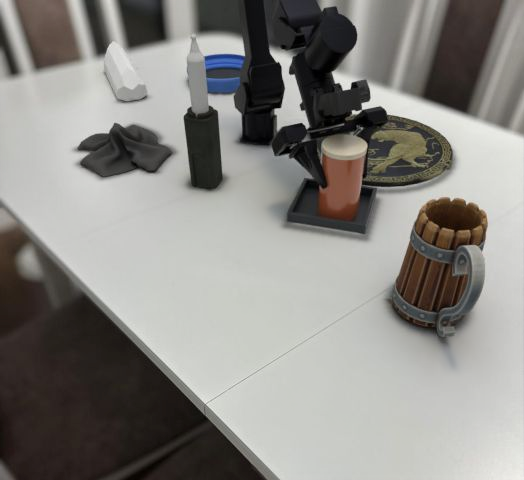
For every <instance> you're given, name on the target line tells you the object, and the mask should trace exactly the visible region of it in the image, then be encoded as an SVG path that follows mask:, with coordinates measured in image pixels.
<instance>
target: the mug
mask: <svg viewBox="0 0 524 480" xmlns="http://www.w3.org/2000/svg"><path fill="white" fill-rule="evenodd" d="M488 225H489V221H488V217H487V213H486V212H485V210H484V209H480V207H479V205H478V204H476V203H474V202H470V201H469V202H468V203H467V201H466V200H465V199H463V198H459V197H454V198H453V199H452V200H451V197H448V196H441V197H439V198H438V199H435V198H432V199H429V200H428V201H427V202H425V204H423V205H422V206H421V208H420V209H419V210H418V214H417V217H416V219H415V220H414V221H413V225H412V229H411V231H410V236H409V242H408V245H407V248H406V251H405V254H404V258H403V259H402V260H403V261H402V263H401V266H400V269H399V273H398V275H397V276H396V278H395V282H394V283H393V288H392V291H391V296H392V299H391V301H392V306H393V307H394V309H395V310H396V312H398V314H399V315H400V316H401V317H403V318H404V319H406V320H407V321H409V322H410V323H413V324H415V325H418V326H421V327H427V328H436V331H437V334H438V336H439V337H441V338H442V337H443V338H444V337H453V336H455V335H456V332H457V331H456V329H455V326H453V325H454V324H456V323H458V322H459V321H460V320H461V318H462V317H464V315H466V314H468V313H470V312H471V311H472V310H474V308H475V306H476V304H477V302H478V301H479V299H480V297H481V295H482V292H483V289H484V285H485V279H486V262H485V257H484V254H483V251H484V247H485V244H486V240H487V230H488V227H489V226H488ZM451 325H452V326H451Z"/></svg>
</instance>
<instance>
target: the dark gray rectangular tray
mask: <svg viewBox="0 0 524 480" xmlns="http://www.w3.org/2000/svg"><path fill="white" fill-rule="evenodd" d="M318 191H319V184H318V183H317V182H316V181H315V179H314V178H310V177H304V178H303V181H302V182H301V184H300V186H299V188H298V190H297V192H296V195H295V196H294V199H293V200H292V202H291V204H290V207H289V208H288V211H287V213H286V221H287V222H289V223H297V224H301V225H308V226H314V227H320V228H327V229H333V230H340V231H345V232H352V233H357V234H366V231H367V227H368V224H369V222H370V221H369V220H370V217H371V214H372V209H373V207H374V203H375V200H376V197H377V193H378V187H374V186H366V185H362V187H361V194H360V201H359V208H358V215H357V216H356V218H355V219H353V220H352V221H345V220H339V219H333V218H326V217H320V216H319V215H318V213H317V204H318Z"/></svg>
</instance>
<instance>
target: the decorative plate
mask: <svg viewBox="0 0 524 480" xmlns="http://www.w3.org/2000/svg"><path fill="white" fill-rule="evenodd" d="M358 114H359V113H352V114H351V115H350V116H349V117H346V118H345V119H346V121H347V120H352V119H354V118H355V117H356V116H357V115H358ZM387 115H388V119H389V122H388V123H386V124H385V125H384V126H383V127H382V128H380V129H379V130H378V131H377V132H376V133H374V134H373V135H372V137H371V139H370V143H369V150H368V165H367V177H366V178H365V179H363V180H362V186H367V187H374V188H396V187H397V188H398V187H406V186H413V185H418V184H422V183H425V182H428V181H431V180H433V179H435V178H437V177H439V176H440V175H441V176H442V174H443V173H445V171H448V170H449V169H450V167H451V166H452V164H453V163H452V162H453V156H454V152H453V149H452V145H451V143H450V142H449V140H448V139H447V138H446V137H445V136H444V135H443V134H441V132H439V131H438V130H436V129H434V128H433V127H431V126H430V125H427V124H425V123H423V122H420V121H417V120H414V119H411V118H408V117H403V116H398V115H393V114H387ZM338 129H339V128H338ZM335 130H337V129H335ZM323 133H324V132H323ZM346 134H347V135H350V133H346ZM324 139H325V138H324ZM324 139H319V140H317V153H318V156H319V159H320V162H321V146H322V141H323V140H324Z"/></svg>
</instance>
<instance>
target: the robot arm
mask: <svg viewBox="0 0 524 480" xmlns="http://www.w3.org/2000/svg"><path fill="white" fill-rule="evenodd" d="M272 4H273V6H274V7H273V11H272V17H271V25H272V28H273V30H272V31H273V36H274V40H275V42H276V43H277V44H278V46H279V48H280V49H281V50H284V51H286V52H288V51H294V50H299V51H298V52H297V54H295V55H293V56H292V58H291V63H290V64H289V67H288V74H289V75H290V76H295V82H296V84H297V88H298V92H299V95H300V100H301V102H300V104H299V108H300V111H301V112H305V115H306V119H307V122H308V128H307V127H306V125H305V124H304V123H303V122H299V123H294V124H288V125H284V126H281V128H280V129H279V130H278V115H277V114H275V110H276V109H279V110H280V109H282V105H283V101H284V96H285V90H286V87H285V82H284V79H283V78H284V77H283V69H282V67H283V66H282V65H281V63H280V62H279V61H276V59H275V58H274V56H273V55H272V53H271V50H270V49H271V48H270V41H269V40H270V39H269V32H268V24H267V14H266V6H265V0H237V7H238V13H239V22H240V28H241V36H242V44H243V51H244V56H245V59H244V61H243V64H242V67H241V70H240V73H239V78H240V85H239V87H238V89H237V90H236V91H234V92H235V93H234V94H233V103H234V108H235V109H236V110H237V111H238V112H239V114H241V137H240V138H239V142H240V143H245V144H254V145H260V146H269V145H271V149H272V153H273V155H274V157H275V158H278V157H283V156H287V155H288V159H289V160H292V159H294V160H295V161H296V163H298V164H299V165H300V166H301V167H302V168H303V169H305V171H307V173H308V174H309V175H310V176H311V177H312V179H315V181H316V182H317V183H318V184H319V185H320V186H321V187H322V189H325V188H327V182H326V178H325V174H324V171H323V168H322V165H321V162H320V159H319V156H318V153H317V140H319V139H324V138H327V137H329V136H332V135H339V134H346V133H350V135H353V136H357V137H359V138H362V139H363V140H364V141H365V142H366V143H367V152H366V158H365V165H364V173H363V179H365V178H366V177H367V165H368V150H369V143H370V139H371V137H372V135H373V134H374V133H376V132H377V131H378V130H379V129H380V128H382V127H383V126H384V125H385V124H386V123H388V122H389V119H388V115H389V114H388V112H387V110H386V109H385V108H384V107H382V105H378V106H374V107H370V108H364V109H363V104H365V103H369V102H370V101H371V99H372V96H371V88H370V86H369V83H368V80H367V79H366V78H365V79H360V80H356V81H352V82H351V84H350V88H348V89H343V86H342V85H341V83H340V82H336V81H335V78H334V75H333V72H335V71H336V70H337V69H338V68H339V67H340V65H341V64H342V63H343V62H344V60H345V59H346V58H347V57H348V56H349V54H350V53H351V52H352V51H353V49H354V48H355V47H356V45H357V41H358V30H357V27H356V25H354V23H353V22H352V21H351V20H350V18H348V16H346V15H344V14H342V13H339V10H338V7H337V6H336V5H334V6H328V7H327V6H326V7H323V9H321V7H320V4H319V3H318V0H272ZM353 111H355V112H358V113H357V114H358V115H357V116H356V117H355V118H354V119H352V120H347V121H346V119H345V118H346V117H349V116H350V115H351V114H353ZM338 128H339V129H338ZM335 129H337V130H335ZM323 132H324V133H323Z"/></svg>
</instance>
